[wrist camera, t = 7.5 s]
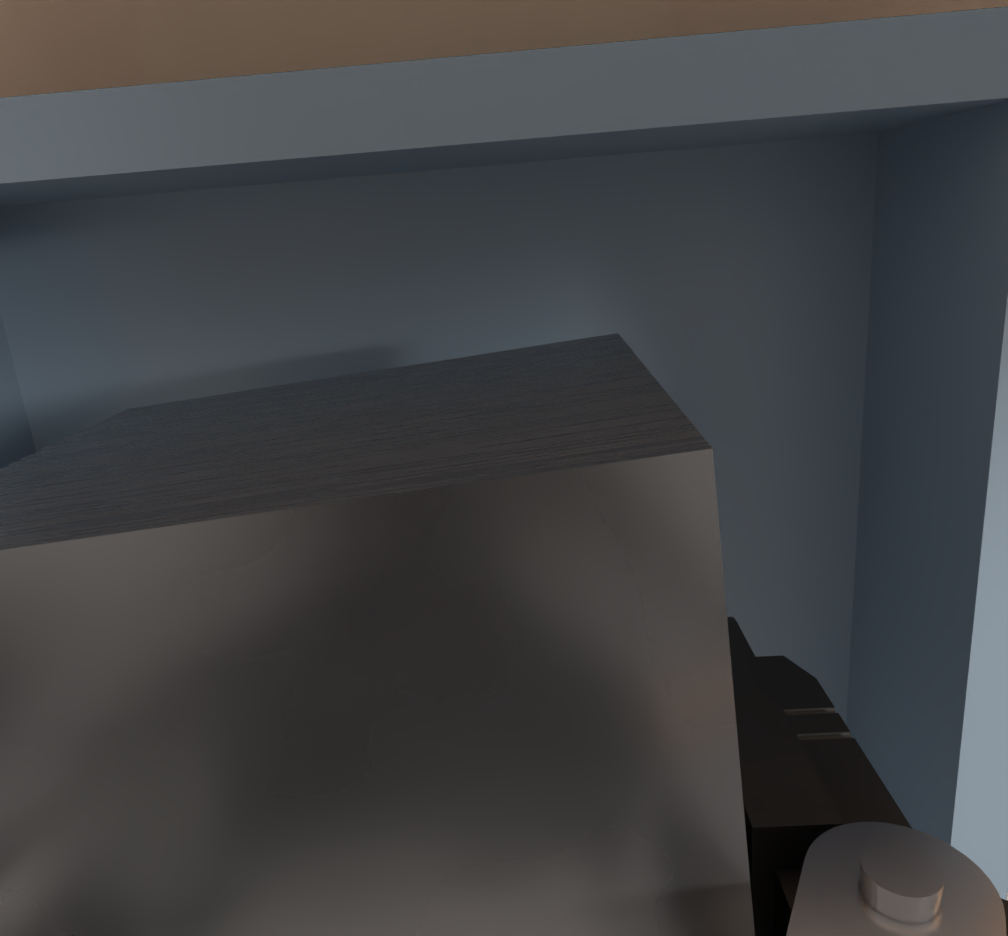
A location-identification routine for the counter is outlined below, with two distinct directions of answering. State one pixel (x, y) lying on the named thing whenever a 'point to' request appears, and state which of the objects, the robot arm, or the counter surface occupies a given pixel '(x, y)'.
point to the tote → (604, 305)
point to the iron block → (374, 662)
